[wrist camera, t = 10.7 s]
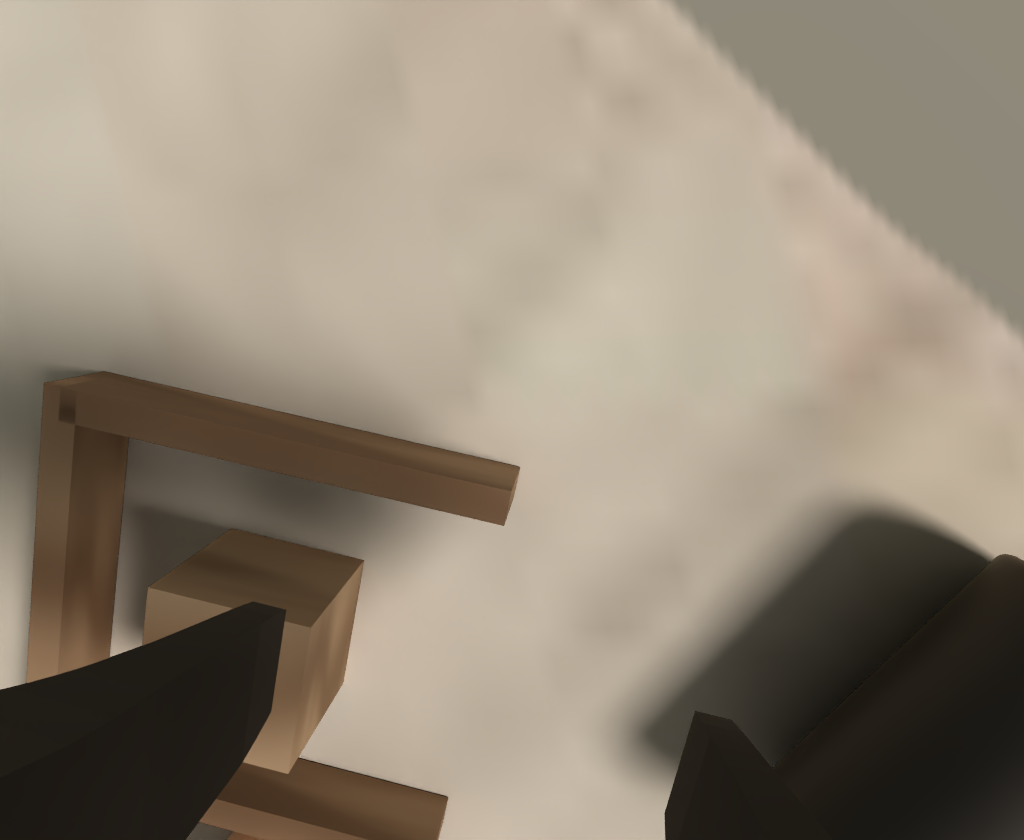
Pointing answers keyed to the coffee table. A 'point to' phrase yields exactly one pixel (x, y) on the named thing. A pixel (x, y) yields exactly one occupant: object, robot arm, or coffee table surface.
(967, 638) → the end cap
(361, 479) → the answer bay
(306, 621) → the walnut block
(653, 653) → the coffee table surface
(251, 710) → the robot arm
